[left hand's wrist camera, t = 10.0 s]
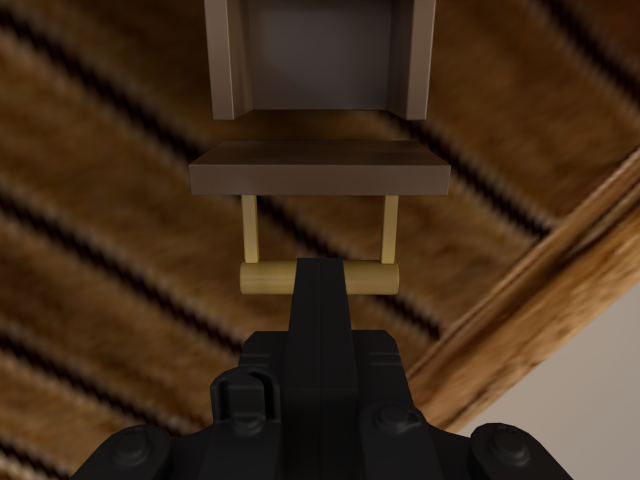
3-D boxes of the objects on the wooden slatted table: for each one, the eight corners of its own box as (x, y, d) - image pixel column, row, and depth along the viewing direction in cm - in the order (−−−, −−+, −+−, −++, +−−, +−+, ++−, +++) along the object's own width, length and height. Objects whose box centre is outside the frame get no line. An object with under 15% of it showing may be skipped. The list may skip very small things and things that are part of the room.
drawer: (406, 257, 25) (435, 317, 19) (232, 257, 25) (203, 317, 19) (442, -216, 18) (508, -368, 12) (197, -216, 18) (133, -370, 12)
